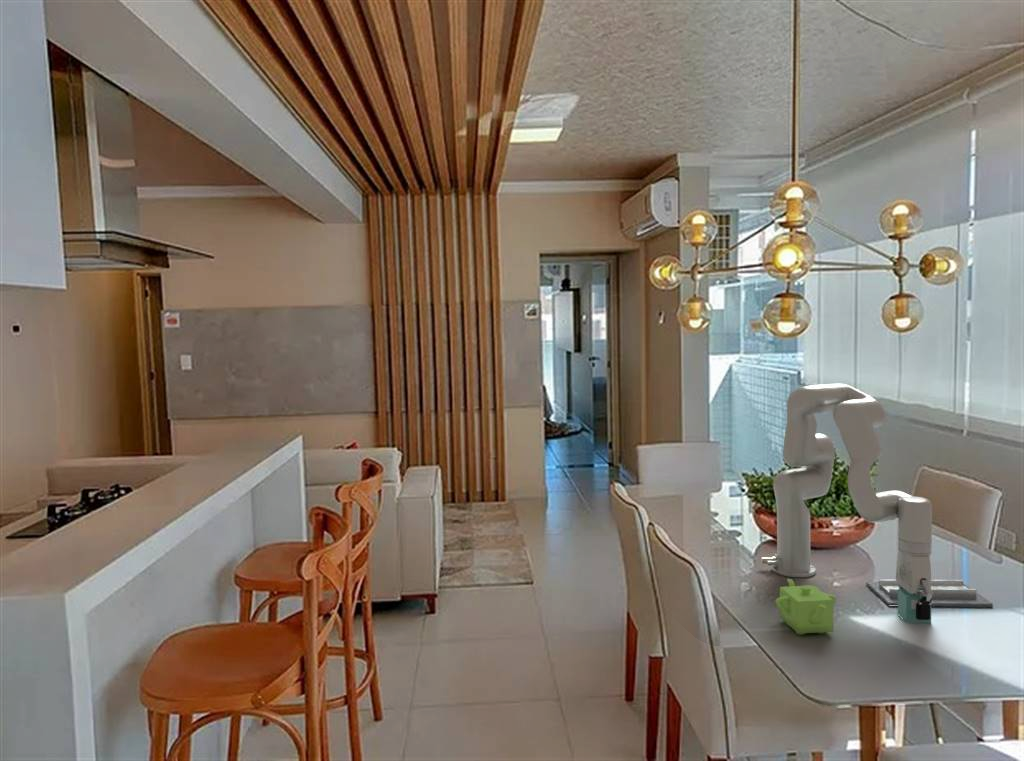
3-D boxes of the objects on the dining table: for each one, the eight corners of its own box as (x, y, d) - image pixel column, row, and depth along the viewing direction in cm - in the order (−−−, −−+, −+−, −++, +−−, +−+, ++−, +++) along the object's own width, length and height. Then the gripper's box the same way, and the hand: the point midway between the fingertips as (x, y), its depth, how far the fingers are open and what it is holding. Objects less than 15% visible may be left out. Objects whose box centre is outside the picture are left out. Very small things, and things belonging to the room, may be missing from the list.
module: (906, 622, 183) (906, 595, 182) (897, 614, 188) (897, 588, 187) (931, 623, 182) (931, 596, 182) (922, 615, 187) (922, 588, 187)
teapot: (857, 643, 172) (857, 600, 171) (793, 647, 171) (793, 603, 170) (816, 611, 192) (816, 572, 191) (759, 614, 191) (759, 575, 190)
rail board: (889, 606, 193) (889, 594, 193) (866, 585, 209) (866, 574, 209) (992, 607, 190) (992, 595, 190) (961, 585, 206) (961, 574, 206)
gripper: (885, 536, 193) (885, 599, 194) (914, 556, 175) (913, 625, 177) (915, 536, 192) (914, 599, 193) (947, 556, 175) (946, 625, 176)
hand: (914, 611), depth 185 cm, fingers open, 9 cm apart
